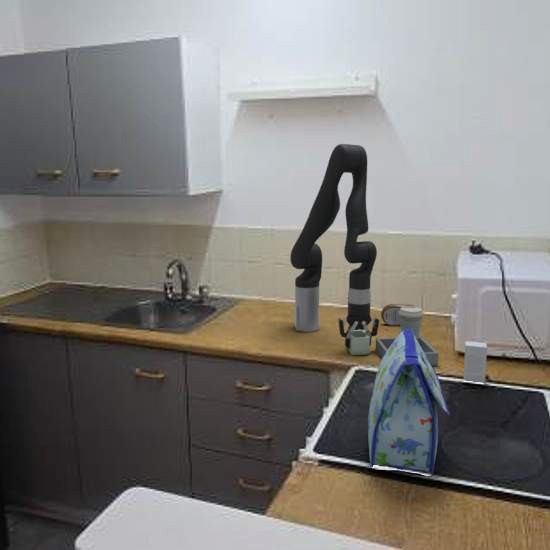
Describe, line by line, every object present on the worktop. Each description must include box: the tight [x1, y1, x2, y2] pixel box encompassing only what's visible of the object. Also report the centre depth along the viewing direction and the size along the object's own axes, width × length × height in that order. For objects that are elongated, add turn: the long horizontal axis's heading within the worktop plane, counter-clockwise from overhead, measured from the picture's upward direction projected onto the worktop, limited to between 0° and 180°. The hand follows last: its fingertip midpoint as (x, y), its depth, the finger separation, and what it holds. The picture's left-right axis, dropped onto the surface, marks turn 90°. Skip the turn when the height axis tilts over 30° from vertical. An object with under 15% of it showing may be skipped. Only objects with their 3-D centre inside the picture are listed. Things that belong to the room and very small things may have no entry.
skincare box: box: [463, 340, 488, 384], centre depth 163 cm, size 6×4×12 cm
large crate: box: [375, 336, 439, 368], centre depth 183 cm, size 16×16×4 cm
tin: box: [380, 303, 415, 327], centre depth 217 cm, size 15×3×8 cm, turn 84°
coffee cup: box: [399, 305, 424, 337], centre depth 199 cm, size 8×8×12 cm
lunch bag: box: [367, 329, 451, 475], centre depth 125 cm, size 22×17×26 cm
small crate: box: [347, 329, 370, 356], centre depth 190 cm, size 6×8×6 cm
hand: (357, 347), depth 190 cm, fingers closed on small crate, 6 cm apart
